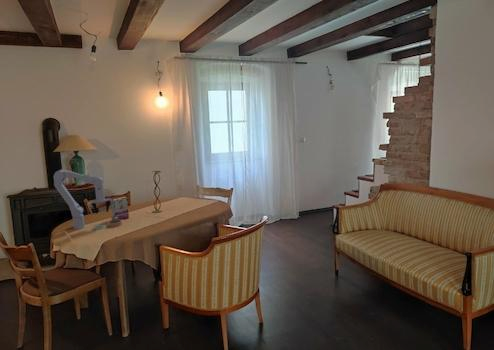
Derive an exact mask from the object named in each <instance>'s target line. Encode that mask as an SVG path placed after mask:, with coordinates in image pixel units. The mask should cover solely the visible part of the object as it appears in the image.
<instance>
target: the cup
mask: <svg viewBox="0 0 494 350" xmlns="http://www.w3.org/2000/svg"><path fill="white" fill-rule="evenodd" d="M122 220H123V219H119V220H118V222H116V223H112V219H111V220H109V221H107V228H108V227H109V228H116V227H120V226H122V225H123V221H122Z"/></svg>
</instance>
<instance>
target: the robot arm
mask: <svg viewBox="0 0 494 350" xmlns="http://www.w3.org/2000/svg"><path fill="white" fill-rule="evenodd" d="M67 178H74V179H79V180H82V181H83V183H88V184H90V185H94V188H95V198H96V199H95V200H90V201H89V205H90V206H92V207H93V210H94V213H95V214H96V215H97V214H98V210H97V204H101V203H105V210H106V212H107V213H109V207H110V205H111V201H112V198H105V188H104V178H103V177H101V176H97V175H92V174H90V173H86V174H81V173H78V172H74V171H71V170H68V169H67V170H66V169H59V170H57V171H55V172H54V174H53V185H54V187H55V189H56V190H57V192H58V193H59V195H60V196H61V197H62V199H63V200H64V201H65V203H66V204H67V205H68V207H69V210H70V213H71V216H72V223H73V225H72V226H73V229H74V230H81V229H85V227H86V225H85V216H84V214H83V213H84V208H83V206H80V204H79V203H78V202H77V201H76V200H75V199H74V198H73V196H72V195H71V193H70V192H69V190H68V189H67V187H66V186H65V185H64V182H65V179H67Z"/></svg>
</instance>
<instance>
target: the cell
mask: <svg viewBox="0 0 494 350" xmlns="http://www.w3.org/2000/svg"><path fill="white" fill-rule="evenodd" d="M110 219H111V220H112V223H116V222H118V218H117V216H115V217H113V216H111V218H110Z"/></svg>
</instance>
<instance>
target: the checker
mask: <svg viewBox="0 0 494 350" xmlns="http://www.w3.org/2000/svg"><path fill="white" fill-rule="evenodd" d="M104 229H106V230H107V229H108V226H106V224H98V225H97V224H96V225H94V226H93V227H90V230H91V231H93V232H95V231H101V230H104Z"/></svg>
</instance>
